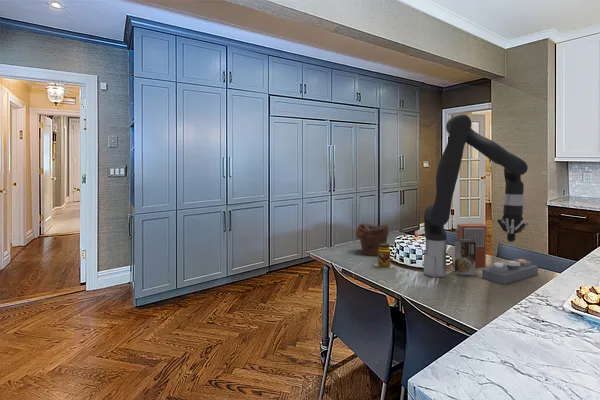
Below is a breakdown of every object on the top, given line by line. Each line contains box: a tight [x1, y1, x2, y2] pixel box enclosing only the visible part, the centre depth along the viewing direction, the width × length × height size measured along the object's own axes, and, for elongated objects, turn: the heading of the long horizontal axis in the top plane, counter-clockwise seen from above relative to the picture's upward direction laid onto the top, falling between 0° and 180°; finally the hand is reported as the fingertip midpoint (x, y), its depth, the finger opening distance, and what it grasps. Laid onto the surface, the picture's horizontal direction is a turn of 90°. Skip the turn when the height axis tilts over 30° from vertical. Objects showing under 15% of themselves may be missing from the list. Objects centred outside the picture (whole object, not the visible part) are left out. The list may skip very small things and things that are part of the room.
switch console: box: [481, 258, 539, 285], centre depth 155 cm, size 26×10×6 cm, turn 118°
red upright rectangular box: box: [454, 223, 488, 268], centre depth 172 cm, size 21×7×15 cm
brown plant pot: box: [355, 223, 390, 256], centre depth 202 cm, size 18×20×18 cm
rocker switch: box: [500, 260, 520, 266], centre depth 155 cm, size 8×4×2 cm, turn 118°
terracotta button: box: [518, 258, 528, 263], centre depth 159 cm, size 4×4×2 cm
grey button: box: [493, 261, 504, 269], centre depth 151 cm, size 4×4×2 cm
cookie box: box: [454, 238, 477, 276], centre depth 161 cm, size 9×6×16 cm
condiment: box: [373, 242, 394, 270], centre depth 176 cm, size 7×8×12 cm
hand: (511, 241), depth 155 cm, fingers closed
